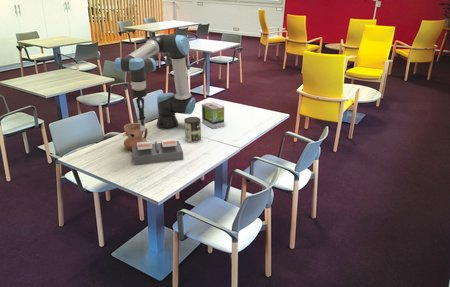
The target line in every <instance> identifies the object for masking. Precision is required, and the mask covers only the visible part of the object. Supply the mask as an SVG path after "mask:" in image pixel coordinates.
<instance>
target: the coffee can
mask: <svg viewBox="0 0 450 287" xmlns="http://www.w3.org/2000/svg"><path fill="white" fill-rule="evenodd" d="M183 120H184V131H185V132H184V133H185V134H184V135H185V139H184V140H185V142H187V143H192V144H195V143H199V142H201V141H202V132H201V130H202V129H201V121H202V119H201V118H200V117H198V116H189V117H185V118H184V119H183Z"/></svg>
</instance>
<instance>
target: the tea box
mask: <svg viewBox="0 0 450 287" xmlns="http://www.w3.org/2000/svg"><path fill="white" fill-rule="evenodd" d="M201 116H202V117H201V118H202V119H201V121H202V122H201V123H202V124H204V125H205V126H207V127H210V128H211V129H213V130H214V129H218V128H222V127H225V106H223V105H221V104H219V103H216V102H214V101H211V102H205V103H202V104H201Z"/></svg>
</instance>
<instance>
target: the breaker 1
mask: <svg viewBox="0 0 450 287" xmlns="http://www.w3.org/2000/svg"><path fill="white" fill-rule="evenodd" d="M152 144H153V143H152V141H151V140H147V142H137V148H138V150H142V149H151V148H152Z"/></svg>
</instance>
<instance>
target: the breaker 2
mask: <svg viewBox="0 0 450 287" xmlns="http://www.w3.org/2000/svg"><path fill="white" fill-rule="evenodd" d="M176 141H177V140H176V139H175V138H168V139H160V143H161V144H162V146H163V147H169V146H177V142H176Z"/></svg>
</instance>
